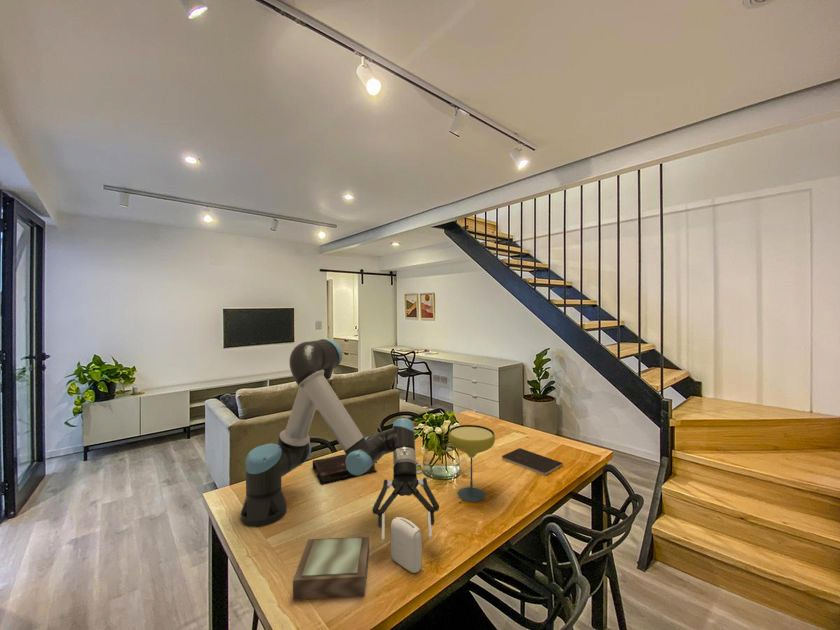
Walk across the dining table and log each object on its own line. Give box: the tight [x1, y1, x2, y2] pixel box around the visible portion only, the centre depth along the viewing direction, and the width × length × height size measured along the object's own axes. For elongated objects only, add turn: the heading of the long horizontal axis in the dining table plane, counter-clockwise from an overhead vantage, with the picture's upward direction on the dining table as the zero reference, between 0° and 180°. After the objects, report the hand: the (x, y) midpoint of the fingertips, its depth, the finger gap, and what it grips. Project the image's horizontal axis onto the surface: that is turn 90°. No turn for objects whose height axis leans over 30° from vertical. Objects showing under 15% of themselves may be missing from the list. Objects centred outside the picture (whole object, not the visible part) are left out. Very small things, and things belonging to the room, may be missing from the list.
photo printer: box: [390, 516, 423, 574], centre depth 103 cm, size 10×4×12 cm, turn 47°
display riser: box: [292, 536, 370, 601], centre depth 99 cm, size 18×16×5 cm
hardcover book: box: [501, 447, 563, 477], centre depth 170 cm, size 16×23×2 cm
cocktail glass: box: [448, 424, 496, 503], centre depth 141 cm, size 18×18×25 cm
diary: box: [312, 453, 378, 486], centre depth 162 cm, size 19×25×5 cm
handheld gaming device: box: [415, 460, 423, 474], centre depth 166 cm, size 9×1×15 cm
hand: (406, 539), depth 103 cm, fingers open, 13 cm apart
